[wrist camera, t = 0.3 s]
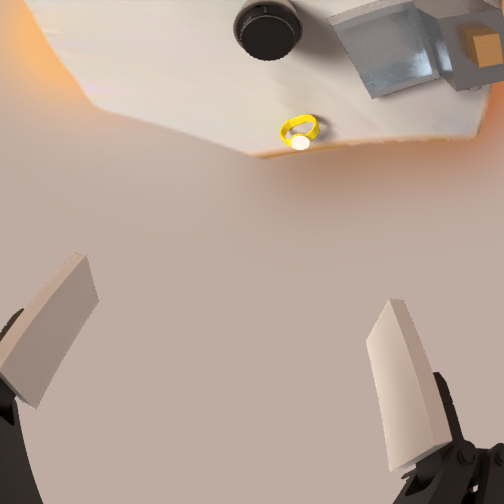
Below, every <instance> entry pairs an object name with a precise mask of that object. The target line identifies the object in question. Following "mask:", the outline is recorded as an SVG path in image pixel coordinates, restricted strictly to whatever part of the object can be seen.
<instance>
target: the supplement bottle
mask: <svg viewBox="0 0 504 504" xmlns="http://www.w3.org/2000/svg"><path fill="white" fill-rule="evenodd" d="M233 31H234V36H235V39H236V41H237V42H238V44H239V45H240V46H241V47H242V48H243V49H244V50H245V51H246V52H247V53H249V55H250V56H253V57H254V58H257V59H259V60H263V61H266V60H267V61H271V60H276V59H280V58H282V57H284V56H285V55H287V54H288V53H289V52H291V51H292V50H293V49H294V48H295V47H296V46H297V45H298V43H299V42H300V40H301V37H302V32H303V28H302V23H301V20H300V18H299V16H298V14H297V12H296V10H295V8H294V6H293V5H292V4H291V3H290V2H289V1H288V0H248V1H246V2H245V4H244V5H243V6H242V8H241V10H240V11H239V13H238V15H237V16H236V19H235V21H234V26H233Z"/></svg>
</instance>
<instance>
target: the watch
mask: <svg viewBox="0 0 504 504" xmlns="http://www.w3.org/2000/svg"><path fill="white" fill-rule="evenodd" d="M307 121H308V122H313V123H314V125H313V127H312V129H311V130H310V131H309V132H308V133H306V134H303V133H297V134H294V135H293V136H292V137H291V139H286V138H285V135H286V133H287V131H288V130H289V129H290V128H291V127H293V126H296V125H298V124H301V123H304V122H307ZM318 132H319V124H318V122H317V120H316V118H314V117H313V116H312V115H307V114H304V115H301V116H298V117H296V118H293V119H290V120H287V121H286V122H285V123H284V124H283V125H282V127H281V129H280V131H279V134H280V138H281V139H282V141H283V142H284V143H285V144H286V145H287V146H292V147H293V148H295V149H297V150H304V149H306V148H308V147H309V145H310V141H311V140H313V139H314V138H315V137H316V136H317V134H318Z"/></svg>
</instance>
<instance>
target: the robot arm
mask: <svg viewBox="0 0 504 504" xmlns="http://www.w3.org/2000/svg"><path fill="white" fill-rule="evenodd" d="M98 302H99V300H98V296H97V293H96V289H95V286H94V282H93V279H92V275H91V271H90V267H89V263H88V259H87V255H83V254H78V253H73V254H72V255H71V256H70V257H69V259H68V260H67V261H66V262H65V263H64V264H63V265H62V266H61V267H60V268H59V269H58V270H57V272H56V273H55V274H54V275H53V276H52V277H51V278H50V279H49V280H48V282H47V283H46V284H45V285H44V286H43V287H42V289H41V290H40V291H39V292H38V293H37V295H36V296H35V297H34V298H33V299H32V301H31V302H30V303H29V304H28V306H27V307H26V308H25V309H21V310H19V311H18V312H17V313H15V314H14V315H13V316H12V317H11V319H10V320H9V321H8V323H7V325H6V326H5V327H4V328H3V329H2V332H1V333H0V504H43V502H42V499H41V497H40V494H39V491H38V489H37V486H36V483H35V480H34V477H33V474H32V471H31V467H30V464H29V460H28V456H27V452H26V448H25V444H24V440H23V436H22V431H21V426H20V420H19V414H18V408H17V403H16V401H15V399H14V398H15V396H17V397H18V398H19V399H20V400H21V401H22V402H23V403H25V404H27V405H28V406H29V407H31V408H33V409H34V410H36V409H37V407H38V405H39V403H40V401H41V399H42V397H43V395H44V393H45V391H46V389H47V387H48V385H49V383H50V382H51V380H52V378H53V376H54V374H55V372H56V370H57V369H58V367H59V365H60V363H61V361H62V360H63V358H64V356H65V355H66V353H67V351H68V350H69V348H70V346H71V344H72V343H73V341H74V340H75V338H76V336H77V335H78V333H79V331H80V330H81V328H82V327H83V325H84V323H85V322H86V320H87V318H88V317H89V316H90V314H91V313H92V311H93V309H94V308H95V306H96V305H97V303H98ZM366 345H367V349H368V353H369V357H370V362H371V366H372V371H373V375H374V380H375V384H376V390H377V395H378V399H379V405H380V411H381V416H382V422H383V428H384V434H385V441H386V448H387V455H388V463H389V471H396V470H400V469H405V468H408V467H410V466H412V465H413V464H415V463H416V468H415V469H414V470H411V471H410V472H408V473H406V474H404V475H403V476H402V478H401V479H404V478H407V477H409V476H410V477H409V478H408V479H407V480H406V481H407V482H406V484H405V485H404V487H403V489H402V490H401V492H400V494H399V495H398V496H397V498H396V500H395V501H394V503H393V504H504V444H503V443H498V444H496V445H495V446H494V447H492V448H491V449H480V448H475V446H474V444H472V443H471V442H470V441H466V440H464V438H463V435H462V432H461V428H460V424H459V421H458V417H457V414H456V411H455V408H454V405H453V404H452V403H453V401H452V398H451V396H450V392H449V389H448V386H447V383H446V381H445V380H444V378H443V377H442V376H441V374H440V373H439V372H434V373H432V370H431V367H430V365H429V361H428V359H427V356H426V353H425V351H424V348H423V346H422V343H421V341H420V338H419V336H418V333H417V331H416V328H415V326H414V323H413V321H412V319H411V317H410V314H409V312H408V310H407V308H406V305H405V303H404V301H403V300H398V299H388V301H387V303H386V305H385V307H384V309H383V311H382V312H381V315H380V316H379V318H378V320H377V322H376V324H375V325H374V327H373V329H372V331H371V333H370V335H369V336H368V338H367V340H366ZM476 485H478V489H477V491H476V492H473V487H474V486H476Z"/></svg>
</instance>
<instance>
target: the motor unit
mask: <svg viewBox="0 0 504 504" xmlns="http://www.w3.org/2000/svg"><path fill="white" fill-rule="evenodd" d="M327 20H328V22H329V23H330V25H331V26H332V28H333V30H334V31H335V33H336V34H337V36H338V38H339V39H340V41H341V43H342V44H343V46H344V48H345V50H346V51H347V53H348V55H349V57H350V59H351V60H352V62H353V64H354V66H355V68H356V70H357V72H358V74H359V76H360V78H361V80H362V82H363V84H364V86H365V87H366V89H367V91H368V93H369V94H370V96H371V98H372V99H374V98H377V97H380V96H383V95H386V94H389V93H392V92H395V91H398V90H401V89H404V88H407V87H410V86H414V85H417V84H420V83H424V82H427V81H430V80H434V79H438V78H440V76H439V73H440V74H441V75H442V76H443V77H444V78H445V79H446V80H447V81H448V82H449V83H450V84H451V86H452V87H453V88H454V89H455V90H456V91H460V90H464V89H469V90H473V91H476V90H479V89H481V85H485V84H490V83H494V82H499V81H503V80H504V17H503V13H502V10H500V9H498V8H496V7H494V6H492V5H490V4H488V3H486V2H484V1H482V0H379V1H376V2H372V3H369V4H366V5H363V6H360V7H357V8H354V9H351V10H348V11H346V12H343V13H340V14H338V15H335V16H332V17H330V18H327Z"/></svg>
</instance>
